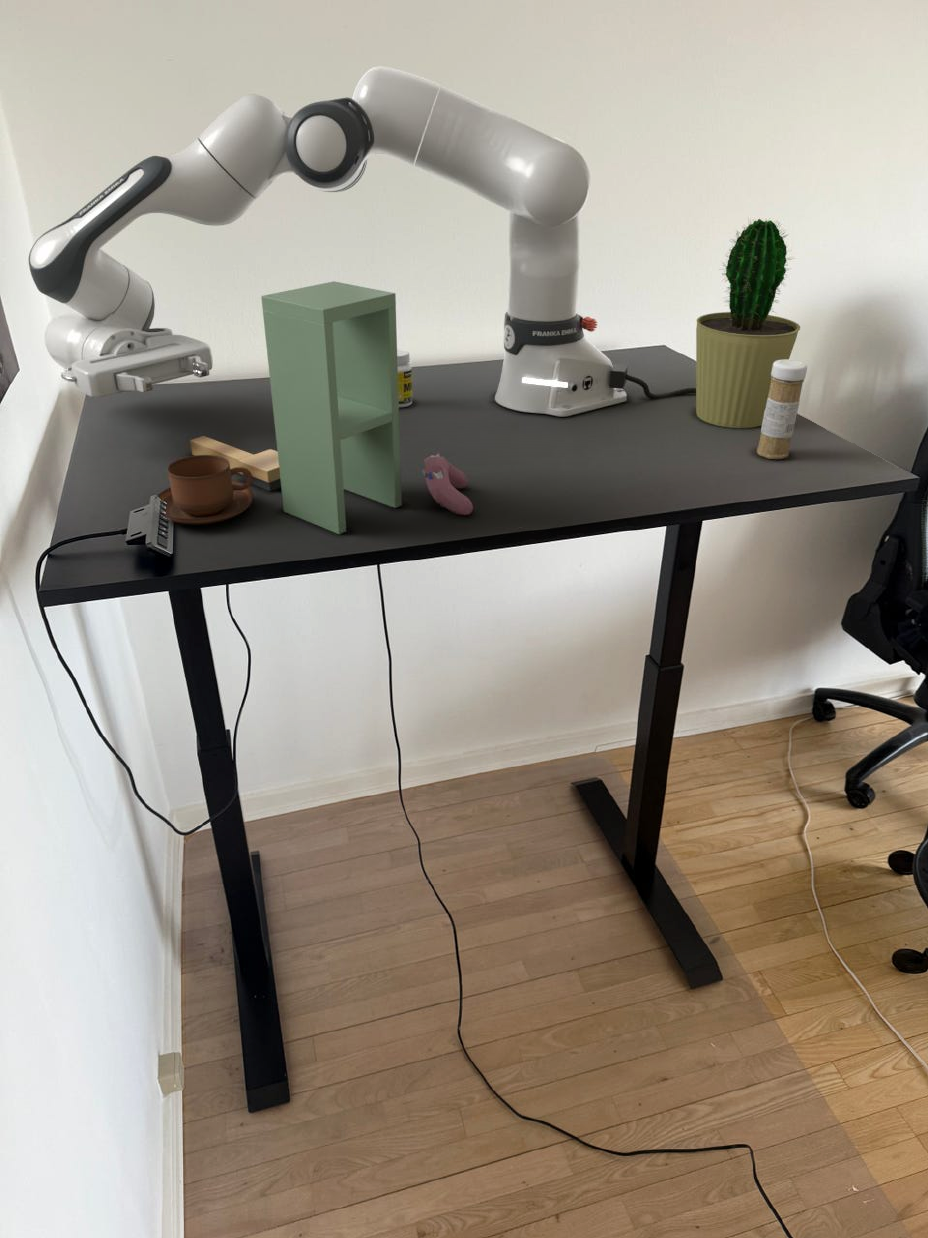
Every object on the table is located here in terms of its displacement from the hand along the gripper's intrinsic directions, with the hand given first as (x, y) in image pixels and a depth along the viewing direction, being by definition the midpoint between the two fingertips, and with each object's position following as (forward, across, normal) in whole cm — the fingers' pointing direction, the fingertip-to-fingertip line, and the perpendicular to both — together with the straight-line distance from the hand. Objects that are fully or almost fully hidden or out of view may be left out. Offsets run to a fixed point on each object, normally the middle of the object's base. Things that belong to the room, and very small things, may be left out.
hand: (177, 377), depth 124 cm
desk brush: (+12, 0, +10) cm, 16 cm away
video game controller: (+41, +10, +10) cm, 43 cm away
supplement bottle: (+9, +35, +10) cm, 38 cm away
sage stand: (+32, 0, +10) cm, 34 cm away
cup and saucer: (+20, -12, +11) cm, 25 cm away
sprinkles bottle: (+66, +54, +10) cm, 86 cm away
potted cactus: (+54, +66, +10) cm, 86 cm away
